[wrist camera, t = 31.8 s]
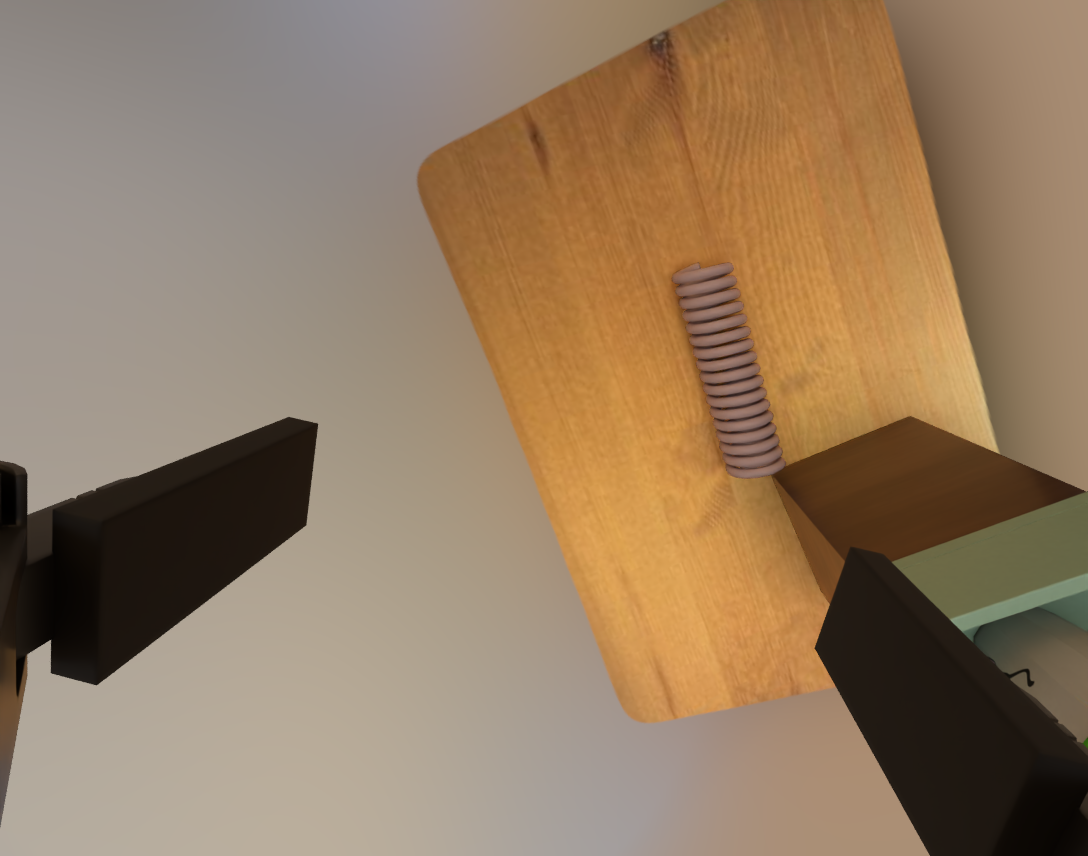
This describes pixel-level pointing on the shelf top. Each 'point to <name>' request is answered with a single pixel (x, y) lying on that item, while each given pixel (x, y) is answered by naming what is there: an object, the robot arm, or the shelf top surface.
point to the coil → (729, 371)
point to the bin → (1010, 568)
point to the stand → (904, 494)
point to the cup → (1043, 662)
